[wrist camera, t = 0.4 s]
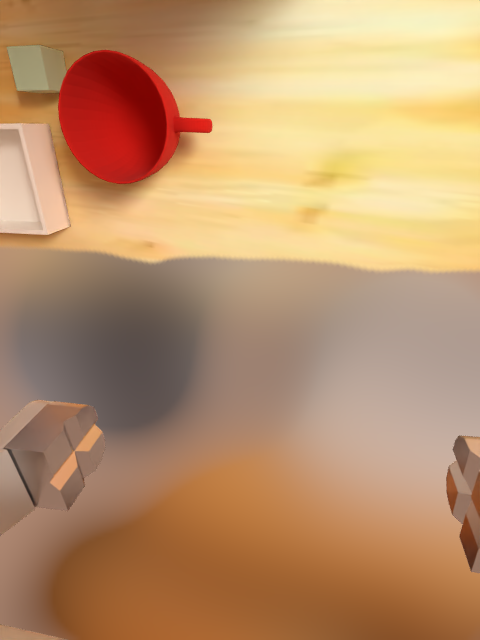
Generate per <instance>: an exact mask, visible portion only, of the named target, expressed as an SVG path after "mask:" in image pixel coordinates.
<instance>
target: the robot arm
mask: <svg viewBox="0 0 480 640" xmlns="http://www.w3.org/2000/svg"><path fill="white" fill-rule="evenodd" d="M97 419H98V416H97V414H96V411H95V408H94V407H92V406H89V405H83V404H74V403H65V402H56V401H54V402H51V401H43V400H35V401H32V402H30V403H28V404H27V405H26V406H25V407H24V408H23V409H22V410H21V411H20V412H19V413H18V414H17V415H15V416H14V417H13V418H12V419H11V420H10V421H9V422H8V423H7V424H6V425H5V426H4V427H3V428H1V429H0V536H1V535H2V534H3V533H4V532H6V531H7V530H9V529H10V528H11V527H12V526H14V525H15V524H16V523H18V522H19V521H20V520H22V519H23V518H24V517H26V516H27V515H28V514H30V513H31V512H32V511H34V510H35V507H39V508H48V509H56V510H65V511H68V510H69V509H70V507H71V506H72V505H73V503H74V502H75V500H76V498H77V497H78V496H79V494H80V493H81V491H82V489H83V488H84V487H85V482H84V478H85V477H86V476H88V475H89V474H91V473H92V472H94V471H95V470H96V469H97V467H98V465H99V464H100V462H101V460H102V457H103V453H104V450H105V439H104V435H103V432H102V431H101V430H100V429H99V428H98V427H97V426H96V425H95V423H96V421H97ZM453 452H454V454H455V457H456V460H457V461H455V462H454V463H452V464H451V465H449V467H448V473H447V477H446V481H447V484H446V486H447V497H448V501H449V505H450V509H451V512H452V515H453V516H454V517H455V518H456V519H457V520H458V521H460V522H461V523H462V524H463V525H462V529H461V532H460V540H461V543H462V545H463V549H464V551H465V555H466V558H467V560H468V564H469V567H470V569H471V572H476V573H480V437H473V436H458V437H457V439H456V440H455V443H454V447H453ZM0 640H65V639H61V638H57V637H52V636H49V635H44V634H40V633H36V632H31V631H27V630H23V629H18V628H14V627H10V626H5V625H1V624H0Z"/></svg>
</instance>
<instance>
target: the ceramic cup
mask: <svg viewBox="0 0 480 640" xmlns="http://www.w3.org/2000/svg"><path fill="white" fill-rule="evenodd" d="M58 110H59V120H60V124H61V129H62V132H63V135H64V137H65V140H66V142H67V144H68V146H69V148H70V150H71V151H72V153H73V155H74V156H75V157H76V158H77V160H78V161H79V162H80V163H81V165H83V166H84V167H85V168H86V169H87V170H88V171H89V172H91V173H92V174H94V175H95V176H97V177H98V178H101V179H103V180H105V181H108V182H112V183H118V184H128V183H133V182H137V181H140V180H143V179H145V178H147V177H149V176H150V175H152V174H154V173H156V172H157V171H159V170H160V169H161V168H162V167H163V166H164V165H165V164H167V163H168V161H169V160H170V158H171V157H172V155H173V154H174V152H175V149H176V147H177V145H178V141H179V137H180V132H197V133H210V132H211V131H212V121H211V120H210V119H200V118H181V117H180V116H179V111H178V107H177V104H176V101H175V99H174V97H173V95H172V93H171V91H170V90H169V88H168V87H167V85H166V84H165V82H164V81H163V80H162V79H161V78H160V77H159V76H158V75H157V74H156V73H155V72H154V71H153V70H151V69H150V68H148V67H147V66H145V65H144V64H142V63H141V62H139V61H138V60H136V59H134V58H132V57H130V56H128V55H125V54H123V53H120V52H117V51H110V50H100V51H93V52H91V53H88V54H86V55H84V56H82V57H81V58H80V59H78V60H77V61H76V62H74V64H73V65H72V66H71V67H70V69H69V70H68V71H67V73H66V75H65V77H64V79H63V81H62V85H61V89H60V93H59V103H58Z"/></svg>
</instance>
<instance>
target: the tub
mask: <svg viewBox="0 0 480 640" xmlns="http://www.w3.org/2000/svg"><path fill="white" fill-rule="evenodd" d="M70 226H71V225H70V220H69V216H68V211H67V206H66V202H65V197H64V192H63V187H62V183H61V178H60V173H59V169H58V164H57V159H56V154H55V150H54V145H53V140H52V135H51V131H50V126H49V124H25V123H16V124H0V233H20V234H40V235H49V234H52V233H54V232H57V231H59V230H62V229H65V228H67V227H70Z"/></svg>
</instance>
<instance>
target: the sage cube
mask: <svg viewBox="0 0 480 640" xmlns="http://www.w3.org/2000/svg"><path fill="white" fill-rule="evenodd" d="M7 51H8V55H9V59H10V63H11V67H12V71H13V76H14V80H15V84H16V88H17V91H24V92H33V93H60V89H61V85H62V81H63V79H64V77H65V75H66V73H67V71H66V66H65V60H64V55H63V51H60V50H56V49H53V48H49V47H46V46H42V45H28V46H10V47H7Z"/></svg>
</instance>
